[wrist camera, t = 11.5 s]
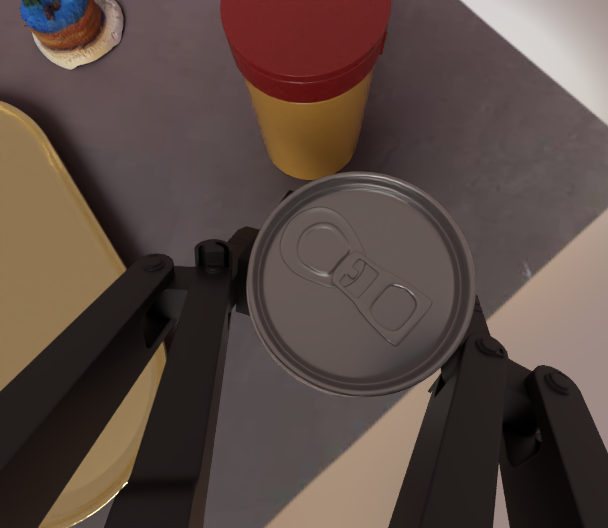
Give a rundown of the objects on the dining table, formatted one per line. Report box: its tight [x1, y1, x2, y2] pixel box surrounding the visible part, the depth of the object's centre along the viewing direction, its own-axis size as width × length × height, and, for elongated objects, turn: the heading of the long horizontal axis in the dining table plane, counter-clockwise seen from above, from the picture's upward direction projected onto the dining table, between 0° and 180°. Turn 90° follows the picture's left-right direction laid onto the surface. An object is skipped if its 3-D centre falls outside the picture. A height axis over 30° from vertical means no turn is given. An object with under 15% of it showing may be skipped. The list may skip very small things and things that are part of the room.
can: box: [247, 172, 476, 397], centre depth 13 cm, size 6×6×12 cm
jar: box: [242, 65, 375, 180], centre depth 20 cm, size 8×8×10 cm
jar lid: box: [220, 0, 392, 103], centre depth 15 cm, size 8×8×2 cm
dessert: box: [20, 0, 124, 70], centre depth 27 cm, size 8×7×6 cm
